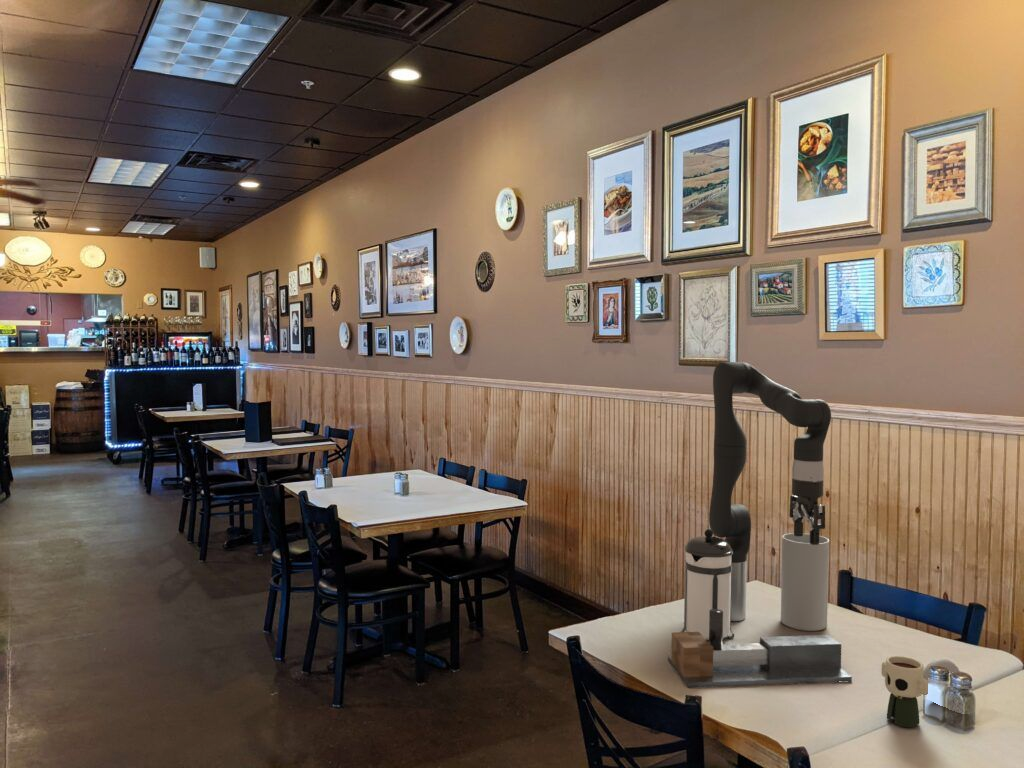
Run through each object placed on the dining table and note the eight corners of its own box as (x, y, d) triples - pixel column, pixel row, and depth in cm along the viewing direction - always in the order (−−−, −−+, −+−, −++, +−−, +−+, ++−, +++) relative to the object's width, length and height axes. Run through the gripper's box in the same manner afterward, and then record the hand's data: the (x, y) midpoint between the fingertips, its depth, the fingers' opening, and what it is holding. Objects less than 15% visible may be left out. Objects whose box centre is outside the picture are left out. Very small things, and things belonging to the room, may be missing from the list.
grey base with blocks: (667, 660, 193) (667, 632, 193) (818, 655, 197) (818, 627, 197) (688, 687, 177) (688, 657, 177) (851, 681, 181) (852, 651, 181)
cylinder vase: (771, 620, 223) (773, 535, 222) (803, 614, 228) (805, 531, 227) (804, 634, 211) (806, 545, 210) (836, 628, 217) (839, 541, 216)
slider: (690, 660, 187) (691, 609, 187) (784, 657, 190) (785, 606, 189) (696, 666, 184) (697, 614, 183) (791, 663, 186) (792, 611, 186)
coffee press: (746, 649, 201) (748, 536, 200) (685, 648, 201) (687, 535, 200) (728, 625, 218) (730, 521, 217) (672, 624, 219) (674, 521, 217)
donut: (928, 709, 168) (930, 664, 167) (916, 702, 171) (917, 658, 170) (964, 703, 171) (965, 659, 170) (951, 696, 174) (952, 653, 173)
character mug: (869, 714, 165) (870, 655, 164) (892, 708, 168) (894, 650, 167) (914, 737, 155) (915, 675, 154) (938, 730, 158) (939, 669, 157)
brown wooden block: (671, 660, 190) (671, 632, 190) (698, 659, 191) (698, 631, 191) (684, 677, 180) (684, 648, 180) (712, 676, 181) (713, 647, 181)
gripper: (781, 473, 202) (779, 533, 202) (807, 482, 187) (805, 547, 188) (808, 472, 202) (806, 533, 203) (836, 482, 188) (834, 547, 189)
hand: (806, 540), depth 196 cm, fingers open, 8 cm apart
